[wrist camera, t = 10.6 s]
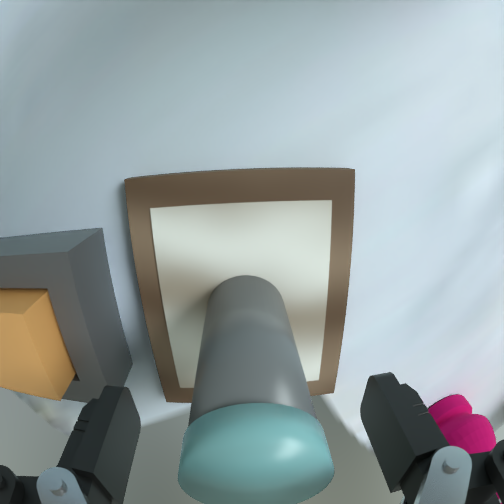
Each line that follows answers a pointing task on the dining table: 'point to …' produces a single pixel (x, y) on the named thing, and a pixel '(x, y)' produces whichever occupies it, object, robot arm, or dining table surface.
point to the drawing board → (242, 258)
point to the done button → (32, 345)
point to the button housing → (74, 302)
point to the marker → (251, 406)
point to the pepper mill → (463, 425)
